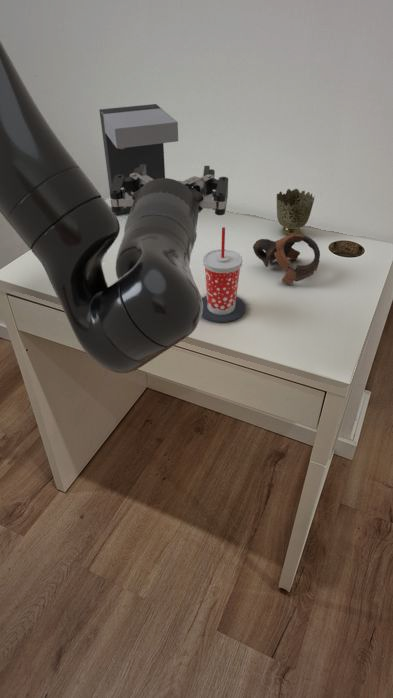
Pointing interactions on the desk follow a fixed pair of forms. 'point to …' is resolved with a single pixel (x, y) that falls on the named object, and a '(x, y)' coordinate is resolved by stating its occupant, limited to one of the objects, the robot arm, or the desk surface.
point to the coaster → (229, 317)
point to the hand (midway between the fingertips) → (175, 172)
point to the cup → (293, 210)
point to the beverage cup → (222, 278)
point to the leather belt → (287, 256)
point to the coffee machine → (136, 140)
